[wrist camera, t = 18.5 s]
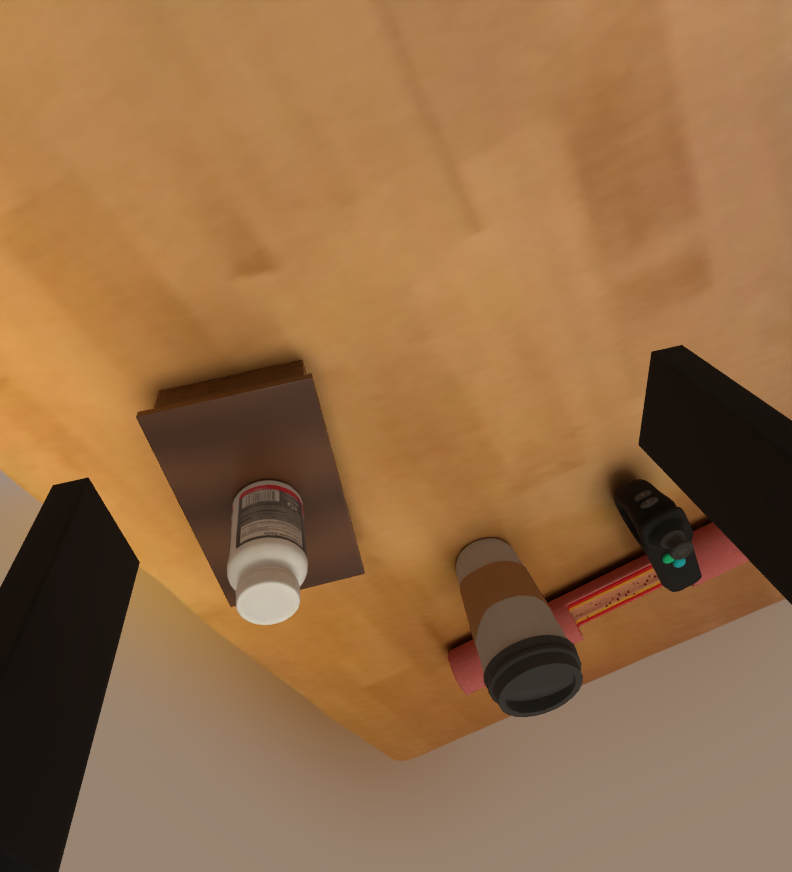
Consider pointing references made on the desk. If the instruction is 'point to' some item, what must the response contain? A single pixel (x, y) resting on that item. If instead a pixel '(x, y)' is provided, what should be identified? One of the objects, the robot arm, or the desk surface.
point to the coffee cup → (515, 632)
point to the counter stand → (253, 462)
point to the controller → (660, 533)
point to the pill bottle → (267, 551)
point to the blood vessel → (608, 597)
